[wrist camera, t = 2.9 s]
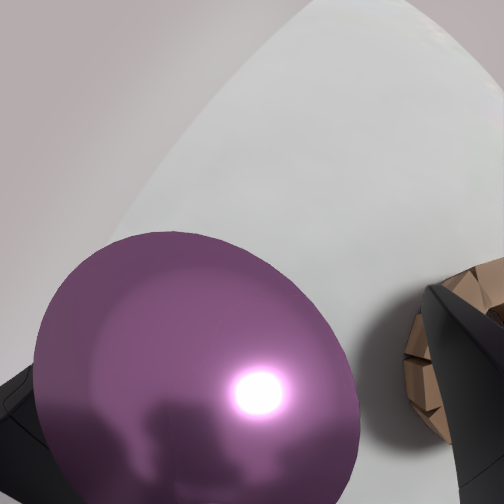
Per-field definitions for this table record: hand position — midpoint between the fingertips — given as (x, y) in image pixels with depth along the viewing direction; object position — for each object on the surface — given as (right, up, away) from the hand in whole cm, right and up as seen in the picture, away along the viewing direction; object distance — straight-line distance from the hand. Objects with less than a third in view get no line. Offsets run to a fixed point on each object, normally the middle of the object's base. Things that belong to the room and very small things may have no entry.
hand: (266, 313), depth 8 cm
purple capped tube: (+1, -3, +6) cm, 7 cm away
